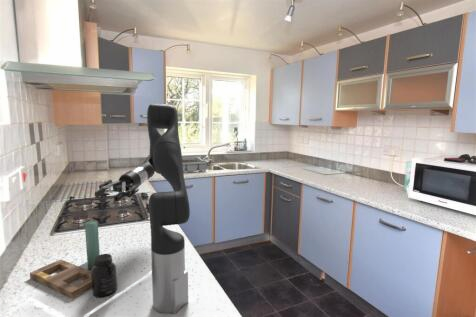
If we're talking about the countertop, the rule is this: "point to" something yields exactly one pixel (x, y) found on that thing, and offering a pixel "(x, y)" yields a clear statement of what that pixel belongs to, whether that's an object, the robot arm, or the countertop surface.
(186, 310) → the countertop surface
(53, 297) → the countertop surface
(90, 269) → the tab
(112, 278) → the supplement bottle
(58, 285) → the hole board
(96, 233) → the peg
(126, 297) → the countertop surface
